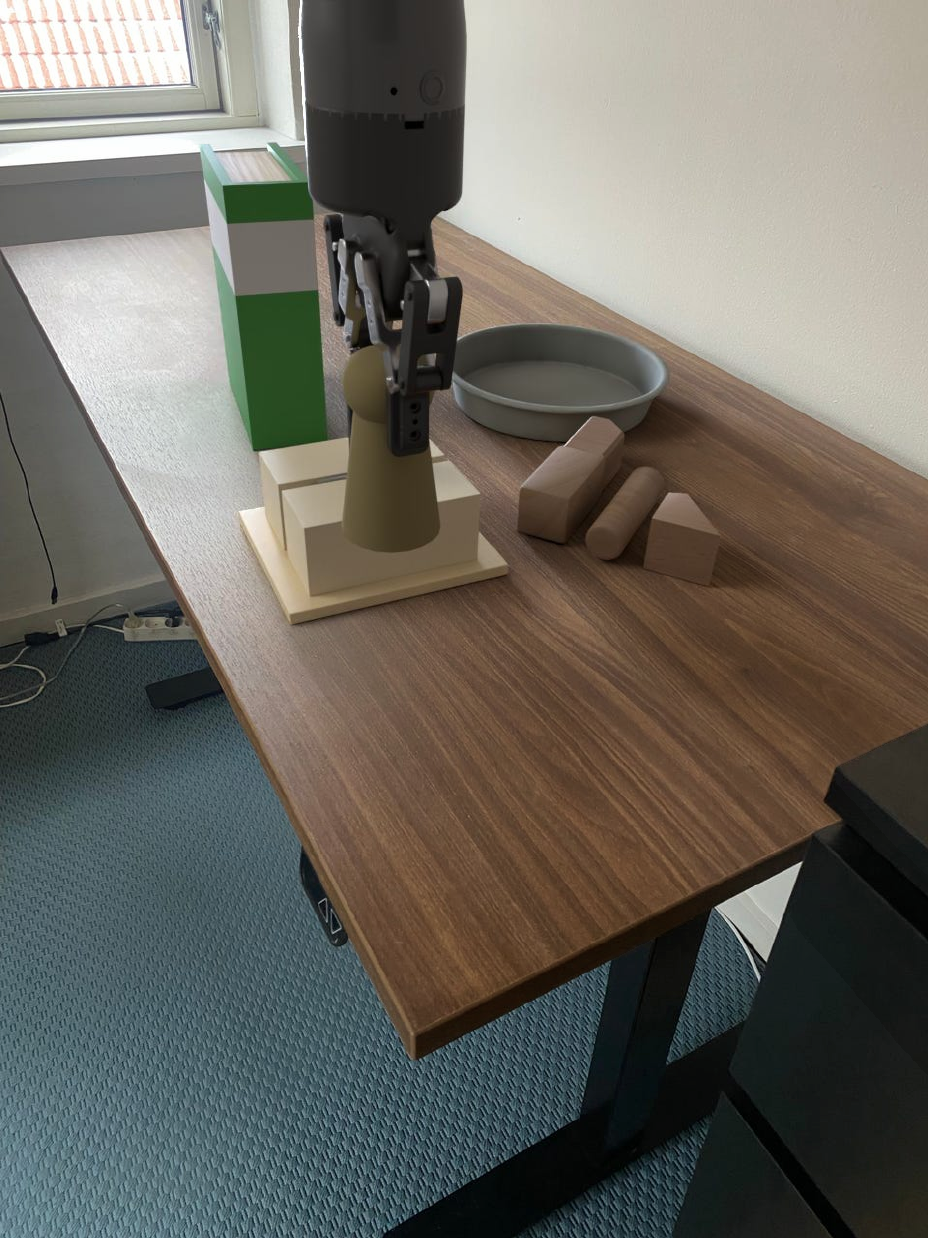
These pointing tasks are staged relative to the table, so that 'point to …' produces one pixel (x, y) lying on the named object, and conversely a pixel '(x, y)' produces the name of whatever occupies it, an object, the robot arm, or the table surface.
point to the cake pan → (554, 379)
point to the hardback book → (268, 293)
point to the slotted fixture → (335, 567)
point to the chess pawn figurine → (383, 469)
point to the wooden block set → (615, 506)
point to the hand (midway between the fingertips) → (389, 429)
